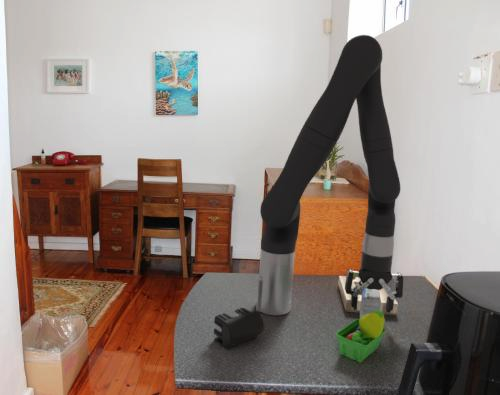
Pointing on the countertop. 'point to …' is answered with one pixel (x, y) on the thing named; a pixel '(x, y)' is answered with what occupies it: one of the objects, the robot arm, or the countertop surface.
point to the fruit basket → (362, 336)
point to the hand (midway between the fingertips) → (371, 310)
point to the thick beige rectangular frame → (347, 297)
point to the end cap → (238, 327)
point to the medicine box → (370, 301)
